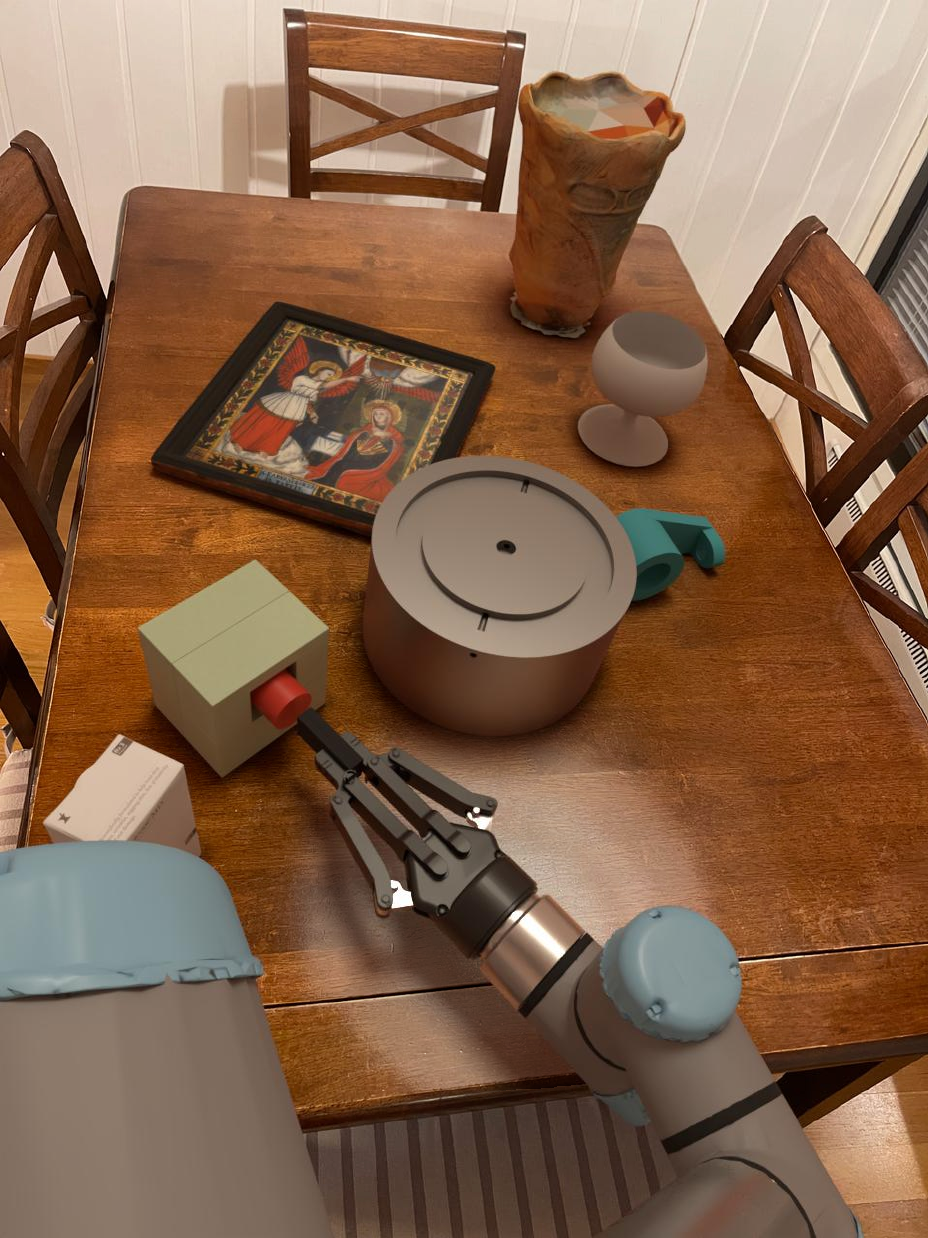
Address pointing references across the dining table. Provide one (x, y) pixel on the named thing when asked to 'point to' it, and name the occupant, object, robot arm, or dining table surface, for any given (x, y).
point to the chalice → (642, 385)
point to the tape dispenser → (668, 546)
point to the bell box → (232, 661)
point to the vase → (582, 190)
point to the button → (281, 699)
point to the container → (493, 593)
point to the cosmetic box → (128, 801)
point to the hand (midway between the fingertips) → (304, 720)
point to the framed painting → (324, 416)
